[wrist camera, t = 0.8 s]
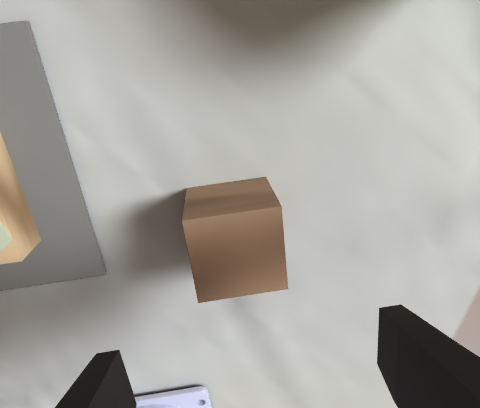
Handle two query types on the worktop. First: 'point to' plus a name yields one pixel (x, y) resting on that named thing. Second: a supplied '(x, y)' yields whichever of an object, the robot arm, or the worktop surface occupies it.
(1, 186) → the oak slab
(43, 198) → the mat
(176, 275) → the worktop surface
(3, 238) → the sage slab
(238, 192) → the walnut block
